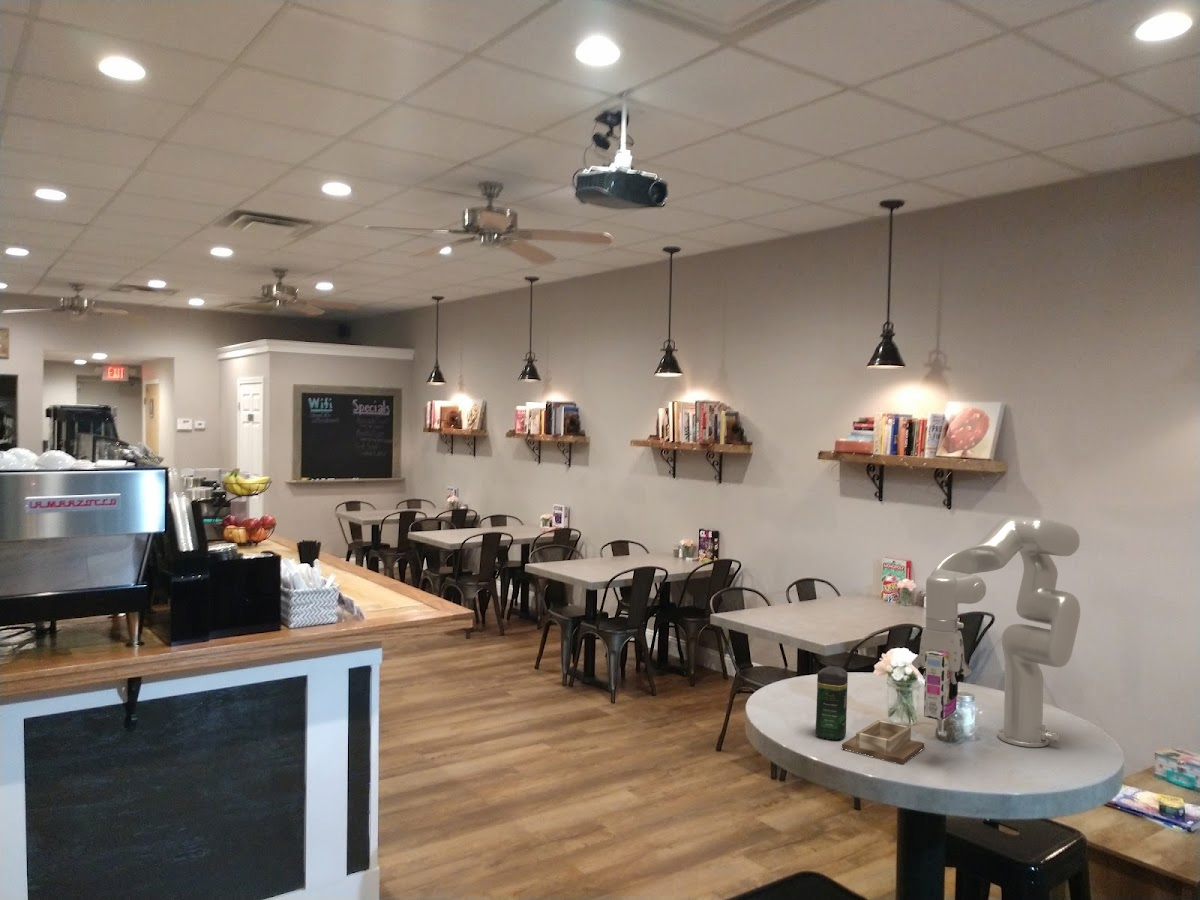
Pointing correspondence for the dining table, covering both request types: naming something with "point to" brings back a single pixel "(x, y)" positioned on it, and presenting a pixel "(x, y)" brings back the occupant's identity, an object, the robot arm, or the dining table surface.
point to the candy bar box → (937, 686)
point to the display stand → (885, 742)
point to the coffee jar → (831, 702)
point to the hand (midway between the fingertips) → (941, 695)
